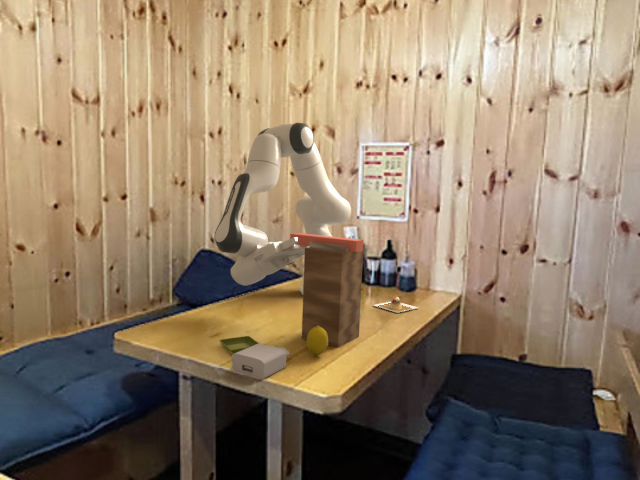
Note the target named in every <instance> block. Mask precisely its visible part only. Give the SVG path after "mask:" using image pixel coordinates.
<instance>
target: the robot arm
mask: <svg viewBox="0 0 640 480" xmlns="http://www.w3.org/2000/svg"><path fill="white" fill-rule="evenodd" d="M288 157H289V158H290V162H291V165H292V168H293V171H294V175H295V178H296V180H297V183H298V186H299V187H300V189H301V191H303V192H304V193H306V194H307V195H305V196H302V197H300V198H299V199H298V200H297V202H296V204H295V212H296V215H297V217H298V218H299V219H300V221H301V223H302V225H303V228H304V230H305V231H304V232H305V234H314V235H323V236H332V237H334V236H333V234H331V232H330V230H329V227H328V226H338V225H339V226H340V225H344V224H346V223H348V221H349V220H350V218H351V216H352V207H351V204H350V202H349V201H348V200H346V199H345V198H344V197H342V195H341V194H340V193H339V192H338V191H337V189H336V188H335V187H334V186H333V184H332V182H331V181H330V179H329V177H328V174H327V172H326V169H325V166H324V163H323V159H322V157H321V154H320V152H319V149H318V147H317V145H316V143H315V135H314V132H313V130H312V128H311V126H309V125H308V124H307V123H304V122H295V123H286V124H280V125H278V126H273V127H270V128H265V129H263V130H261V131H259V132H258V134H257V135H256V137H254V140H253V142H252V144H251V147H250V150H249V154H248V158H247V163H246V168H245V170H244V172H243V173H241V174H239V175H237V177H236V179H235V181H234V182H233V185H232V188H231V190H230V194H229V196H228V199H227V202H226V206H225V208H224V211H223V214H222V217H221V219H220V222H219V224H217V227H216V229H215V232H214V237H213V238H214V241H215V244H216V248H218V250H219V251H221V252H222V253H227V254H234V255H237V258H236V261H235V263H234V265H232V267H231V268H230V275H231V277H232V279H233V280H234V281H235V282H236V283H237V284H238V285H241V286H250V285H253V284H256V283H258V282H259V281H262V280H263V279H265V278H266V276H270V275H273V274H274V273H276V272H278V271H280V270H282V269H284V268H285V267H287V266H289V265H292V264H293V263H295V262H296V260H297V259H299V258H301V257H303V256H305V248H308V247H309V246H303V245H295V244H297V243H298V242H299V241H298V238H297V237H293V238H291V239H290V238H289V239H287V240H281V241H275V242H274V241H270V239H269V236H268V234H267V232H265V231H264V230H261V229H259V228H255V227H252V226H249V225H246V224H243V223H242V221H241V218H242V216H243V212H244V209H245V206H246V204H247V203H246V202H247V199H248V198H249V196H250V195H252V194H260V193H267V192H270V191H271V190H273V189H274V188H275V187H276V185H277V184H278V181H279V179H280V172H281V165H282V158H288ZM302 274H303V275H302V280H301V281H302V282H301V287H299V292H300V293H301V295H302V296H303V285H304V272H303V273H302Z"/></svg>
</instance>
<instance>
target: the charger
mask: <svg viewBox="0 0 640 480" xmlns="http://www.w3.org/2000/svg"><path fill="white" fill-rule="evenodd" d="M289 355H290V351H289V348H285V347H283V346H282V347H281V346H278V345H276V346H271V345H267V344H262V343H259V344H256V345H254V346H251V347H249V348H246V349H244V350H242V351H239V352H237V353H234V354H231V370H232V371H233V372H234V373H237V374H241V375H244V376H247V377H250V378H254V379H257V380H262V381H263V380H264V379H266V378H268V377H270V376H271V375H274V374H276V373H277V372H279V371H281V370H283V369H285V368H286V366H287V357H288V356H289Z"/></svg>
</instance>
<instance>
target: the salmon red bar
mask: <svg viewBox="0 0 640 480" xmlns="http://www.w3.org/2000/svg"><path fill="white" fill-rule="evenodd" d="M332 236H333V235H332ZM332 236H323V235H314V234H306V233H304V232H294V233H290V234H289V239H291V238H293V237H297V238H298V241H299V242H298V243H297V244H295V245H303V246H309V242H318V243H327V244H335V245H344V246H348V251H351V252H359V251H363V252H364V239H358V238H349V237H341V236H340V237H339V236H333V237H332Z"/></svg>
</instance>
